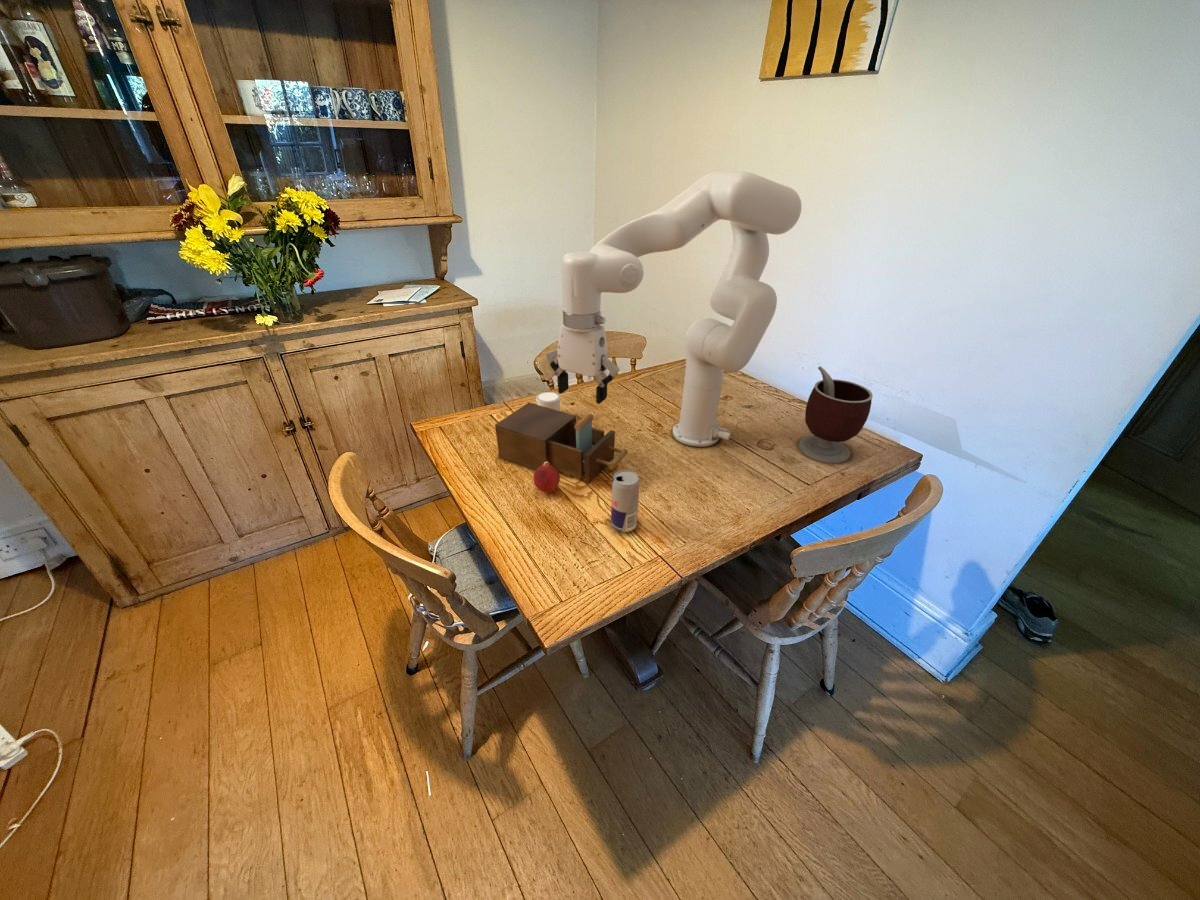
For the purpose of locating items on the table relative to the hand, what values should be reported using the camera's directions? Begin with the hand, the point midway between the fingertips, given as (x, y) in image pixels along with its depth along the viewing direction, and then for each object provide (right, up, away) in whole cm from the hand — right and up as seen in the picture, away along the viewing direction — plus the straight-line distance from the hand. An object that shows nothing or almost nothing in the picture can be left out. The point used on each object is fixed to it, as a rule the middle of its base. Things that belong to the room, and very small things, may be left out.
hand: (581, 396), depth 102 cm
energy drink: (+9, -27, -6) cm, 30 cm away
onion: (-8, -21, +3) cm, 23 cm away
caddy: (0, -15, +9) cm, 17 cm away
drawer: (+1, -16, +10) cm, 19 cm away
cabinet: (-12, -13, +16) cm, 23 cm away
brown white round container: (-11, -3, +31) cm, 33 cm away
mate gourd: (+62, -12, +19) cm, 66 cm away
